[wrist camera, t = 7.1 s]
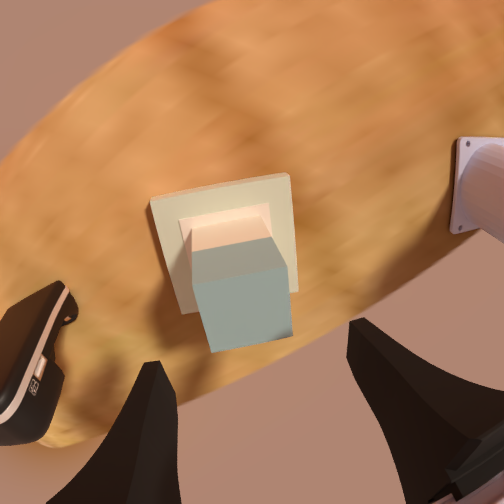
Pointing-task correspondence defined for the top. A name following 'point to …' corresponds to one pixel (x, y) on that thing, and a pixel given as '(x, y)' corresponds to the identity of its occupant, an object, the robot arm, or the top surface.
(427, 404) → the robot arm
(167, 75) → the top surface
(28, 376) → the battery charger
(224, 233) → the brick stack
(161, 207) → the plate
